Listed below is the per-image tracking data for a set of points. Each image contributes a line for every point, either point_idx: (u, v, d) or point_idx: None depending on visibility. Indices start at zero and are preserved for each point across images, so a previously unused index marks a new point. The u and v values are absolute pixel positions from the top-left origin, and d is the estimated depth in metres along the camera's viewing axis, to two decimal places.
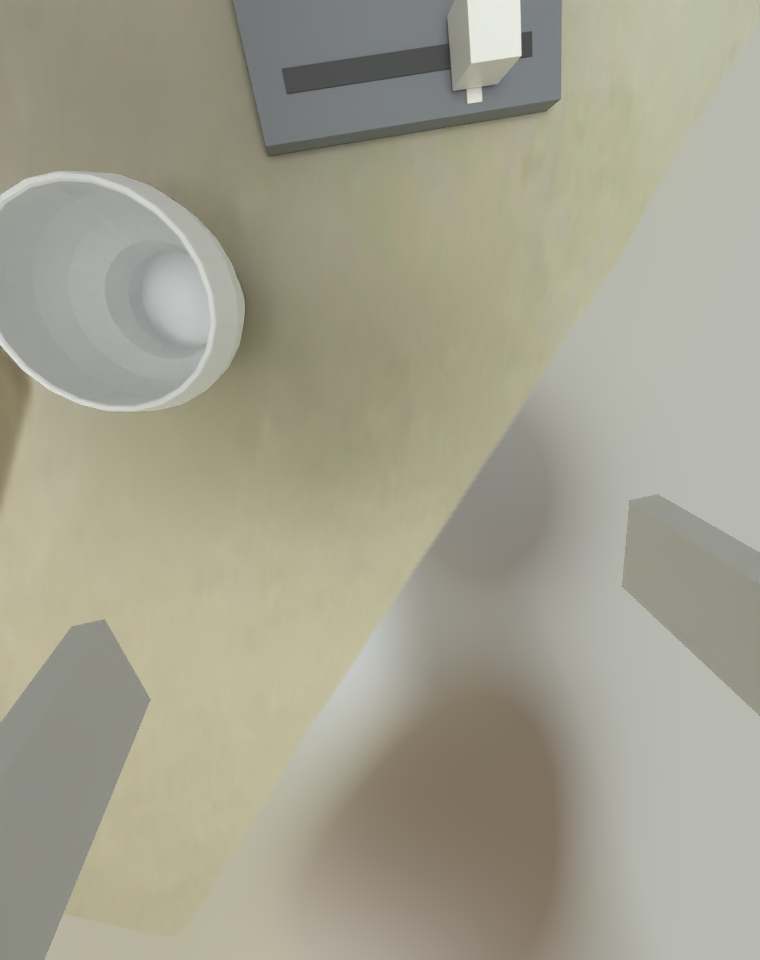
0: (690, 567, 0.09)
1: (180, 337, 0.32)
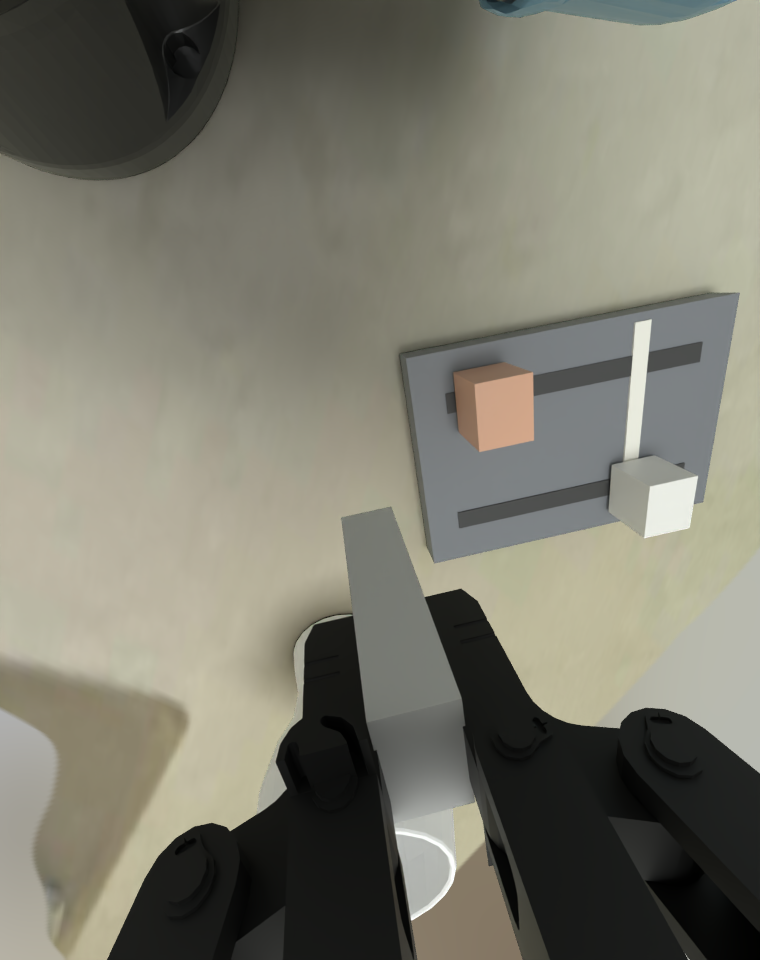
0: None
1: None
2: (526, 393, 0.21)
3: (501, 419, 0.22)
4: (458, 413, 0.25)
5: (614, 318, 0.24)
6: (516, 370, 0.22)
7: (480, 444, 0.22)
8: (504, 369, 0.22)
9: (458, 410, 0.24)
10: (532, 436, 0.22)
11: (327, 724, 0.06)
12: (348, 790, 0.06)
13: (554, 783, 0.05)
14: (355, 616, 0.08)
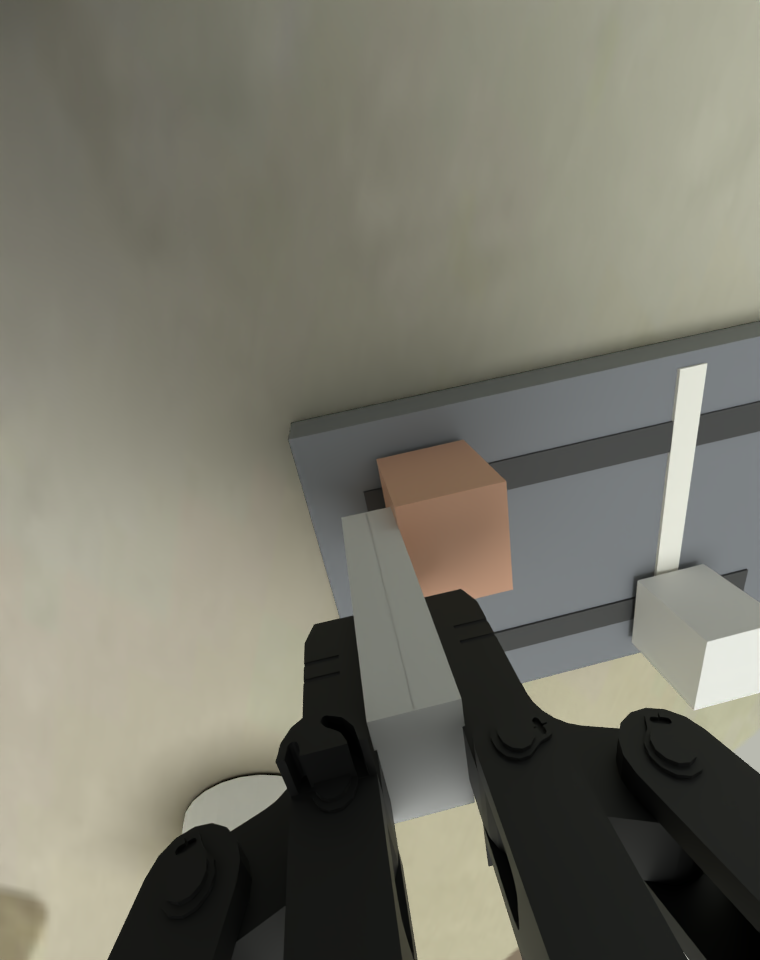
0: None
1: None
2: (495, 517, 0.11)
3: (452, 561, 0.12)
4: None
5: (645, 363, 0.14)
6: (478, 469, 0.12)
7: None
8: (458, 463, 0.13)
9: None
10: (509, 583, 0.12)
11: (327, 724, 0.06)
12: (348, 790, 0.06)
13: (554, 783, 0.05)
14: (355, 616, 0.08)
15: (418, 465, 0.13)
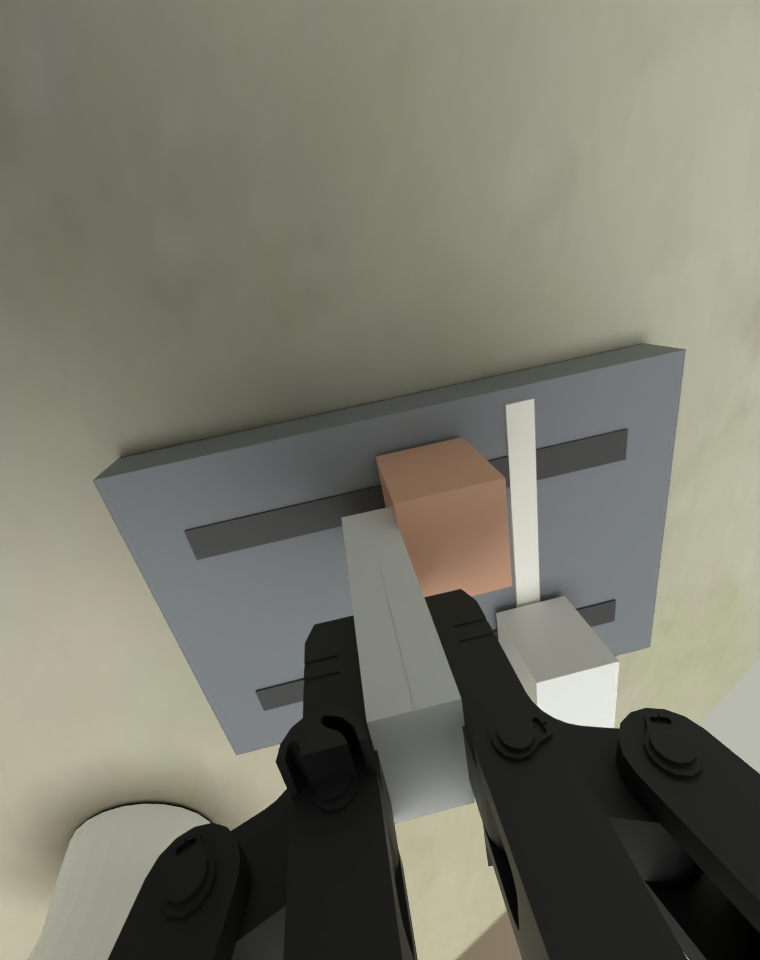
0: None
1: None
2: (494, 513, 0.11)
3: (451, 558, 0.12)
4: None
5: (467, 399, 0.14)
6: (477, 466, 0.12)
7: None
8: (457, 460, 0.13)
9: None
10: (509, 580, 0.12)
11: (328, 724, 0.06)
12: (349, 790, 0.06)
13: (554, 783, 0.05)
14: (355, 616, 0.08)
15: (417, 462, 0.13)
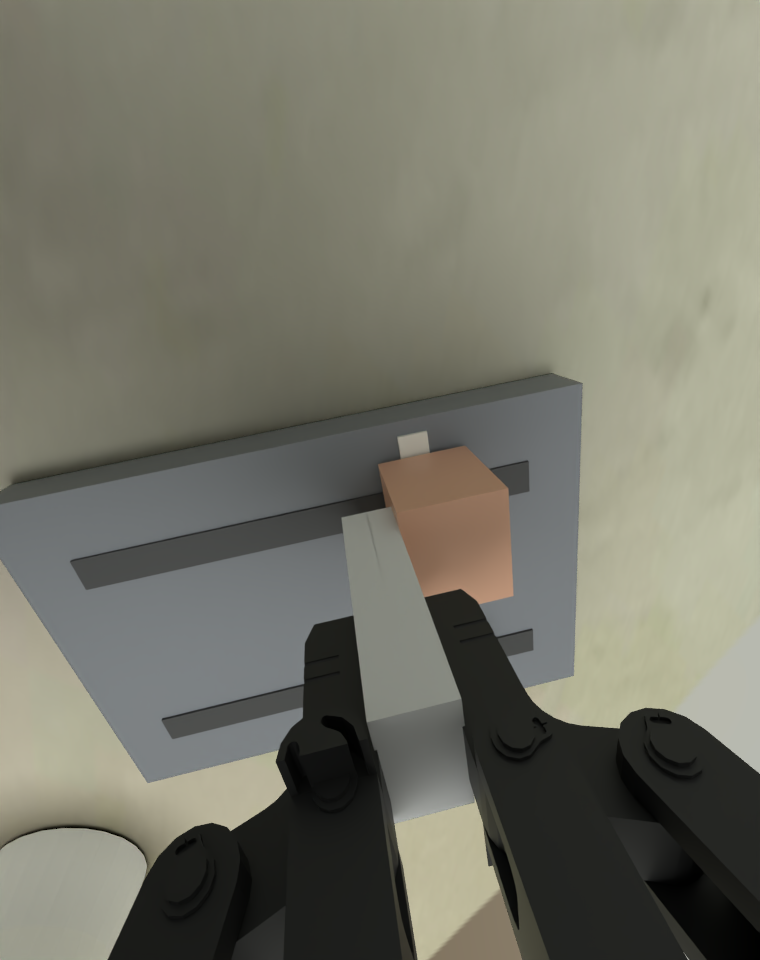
0: None
1: None
2: (497, 523, 0.11)
3: (453, 568, 0.12)
4: None
5: (358, 431, 0.14)
6: (480, 476, 0.12)
7: None
8: (460, 469, 0.13)
9: None
10: (510, 590, 0.12)
11: (327, 724, 0.06)
12: (348, 790, 0.06)
13: (554, 783, 0.05)
14: (355, 616, 0.08)
15: (420, 471, 0.13)
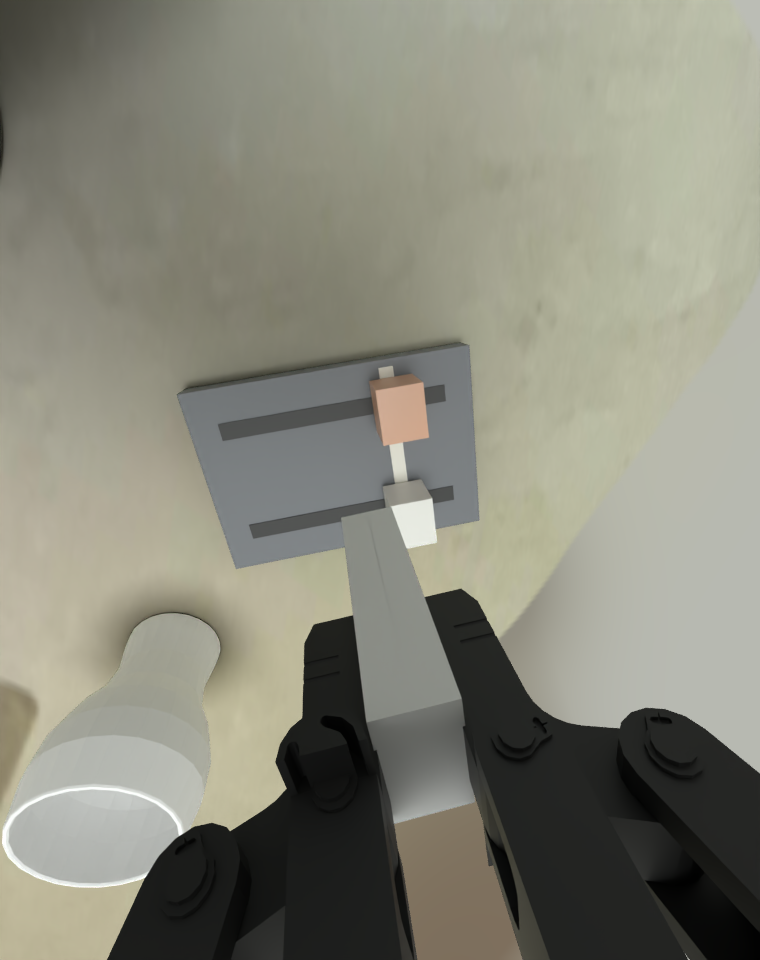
0: None
1: None
2: (419, 399, 0.26)
3: (400, 420, 0.27)
4: (374, 415, 0.30)
5: (359, 364, 0.29)
6: (413, 380, 0.27)
7: (384, 439, 0.27)
8: (406, 379, 0.28)
9: (374, 412, 0.30)
10: (427, 434, 0.27)
11: (327, 724, 0.06)
12: (348, 790, 0.06)
13: (554, 783, 0.05)
14: (355, 616, 0.08)
15: (388, 381, 0.28)
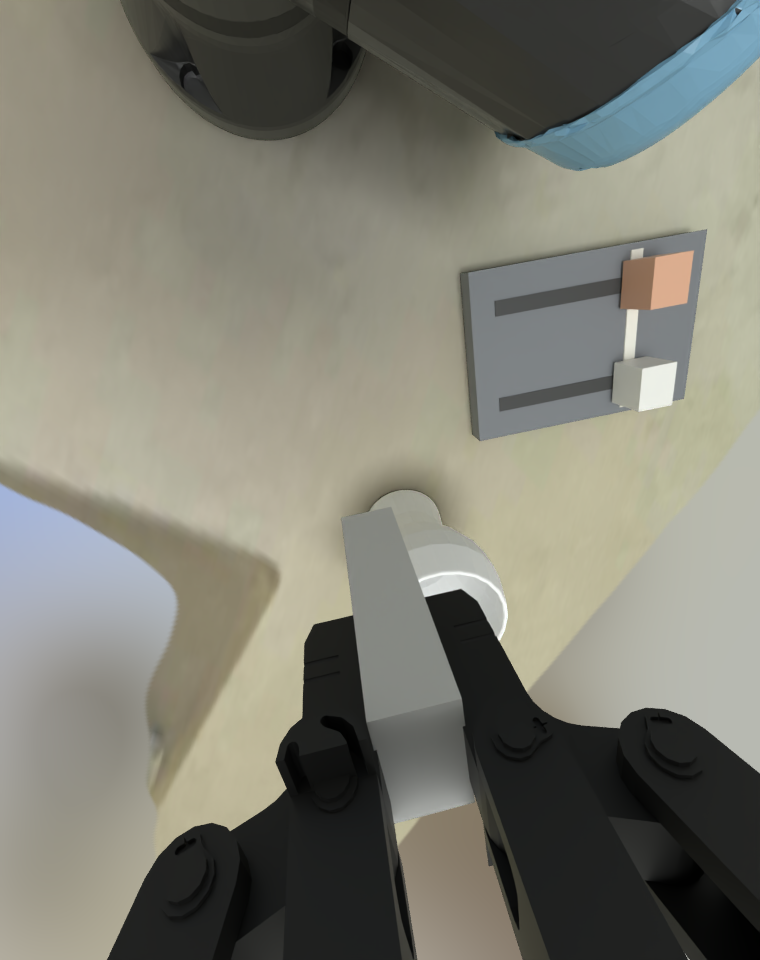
0: None
1: None
2: (687, 266, 0.31)
3: (668, 285, 0.32)
4: (623, 292, 0.35)
5: (616, 246, 0.34)
6: (677, 252, 0.32)
7: (652, 304, 0.32)
8: (666, 254, 0.32)
9: (624, 290, 0.34)
10: (686, 299, 0.32)
11: (327, 724, 0.06)
12: (348, 790, 0.06)
13: (554, 783, 0.05)
14: (355, 616, 0.08)
15: (648, 257, 0.33)
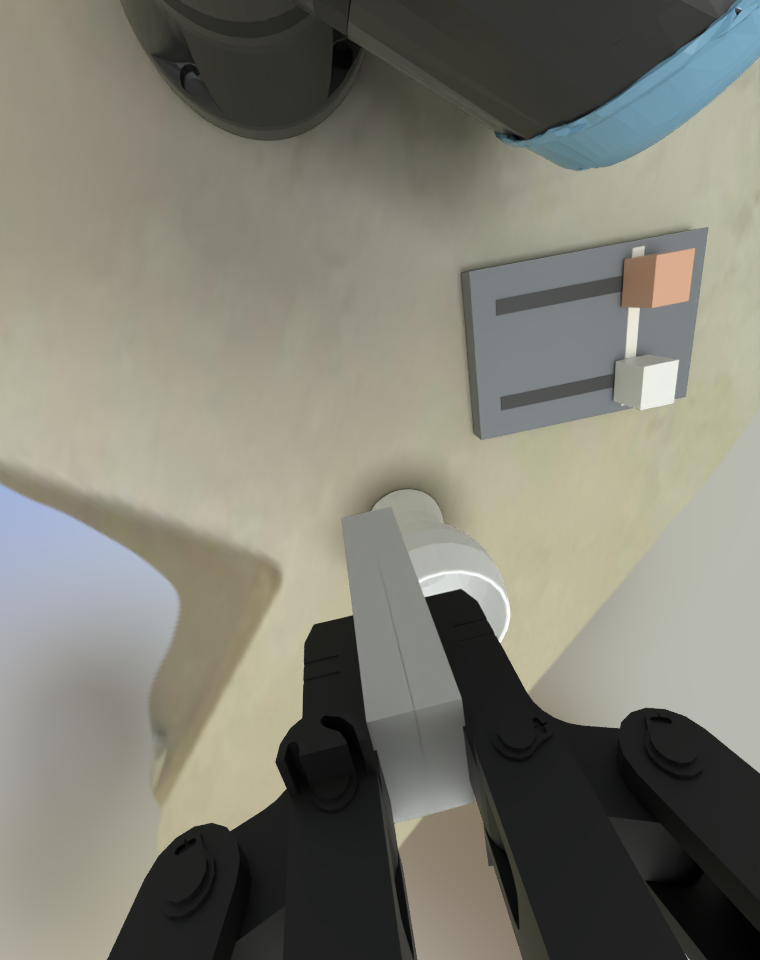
0: None
1: None
2: (688, 264, 0.31)
3: (670, 283, 0.32)
4: (625, 290, 0.35)
5: (617, 244, 0.34)
6: (679, 250, 0.32)
7: (653, 302, 0.32)
8: (667, 252, 0.32)
9: (625, 288, 0.34)
10: (688, 297, 0.32)
11: (327, 724, 0.06)
12: (348, 790, 0.06)
13: (554, 783, 0.05)
14: (355, 616, 0.08)
15: (649, 255, 0.33)
